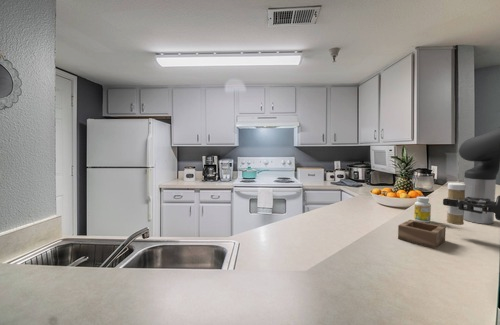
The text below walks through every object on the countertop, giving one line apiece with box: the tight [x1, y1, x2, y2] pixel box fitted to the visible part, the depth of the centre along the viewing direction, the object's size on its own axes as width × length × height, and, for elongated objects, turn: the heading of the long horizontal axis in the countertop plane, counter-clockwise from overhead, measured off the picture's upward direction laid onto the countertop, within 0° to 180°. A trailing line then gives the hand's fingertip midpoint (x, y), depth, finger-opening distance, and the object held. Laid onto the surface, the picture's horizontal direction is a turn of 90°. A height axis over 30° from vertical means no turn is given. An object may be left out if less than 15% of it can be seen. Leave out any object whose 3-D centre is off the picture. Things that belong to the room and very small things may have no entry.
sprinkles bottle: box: [446, 182, 466, 226], centre depth 81 cm, size 5×5×14 cm
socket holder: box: [397, 219, 446, 249], centre depth 79 cm, size 10×10×4 cm
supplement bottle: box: [413, 196, 432, 223], centre depth 99 cm, size 5×5×10 cm
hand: (445, 200), depth 83 cm, fingers closed on sprinkles bottle, 4 cm apart
